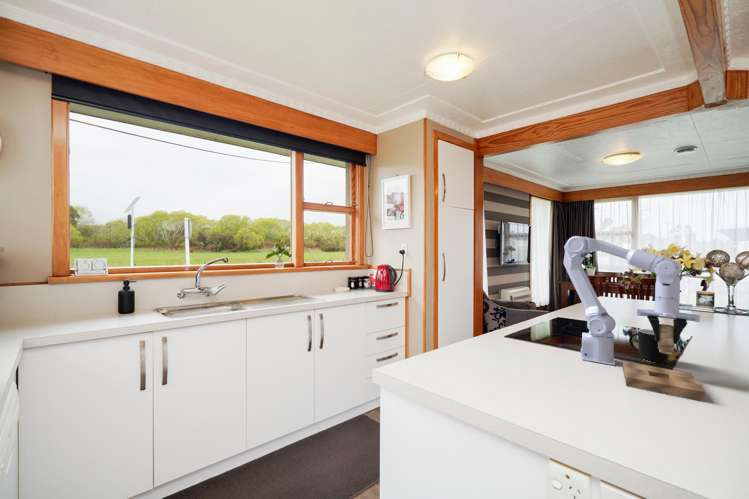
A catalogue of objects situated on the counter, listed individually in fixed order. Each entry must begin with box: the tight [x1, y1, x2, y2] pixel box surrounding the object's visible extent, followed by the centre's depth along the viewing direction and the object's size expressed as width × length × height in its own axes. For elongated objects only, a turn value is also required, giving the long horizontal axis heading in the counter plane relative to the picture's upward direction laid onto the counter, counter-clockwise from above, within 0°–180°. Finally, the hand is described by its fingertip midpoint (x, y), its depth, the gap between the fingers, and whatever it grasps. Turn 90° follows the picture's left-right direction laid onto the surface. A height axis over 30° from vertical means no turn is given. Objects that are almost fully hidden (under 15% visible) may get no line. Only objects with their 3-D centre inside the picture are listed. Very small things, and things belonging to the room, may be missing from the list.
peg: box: [658, 323, 675, 355], centre depth 102 cm, size 4×4×8 cm
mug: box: [628, 328, 670, 364], centre depth 117 cm, size 12×9×10 cm
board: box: [622, 361, 706, 403], centre depth 95 cm, size 16×16×2 cm
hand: (665, 341), depth 102 cm, fingers closed on peg, 4 cm apart
